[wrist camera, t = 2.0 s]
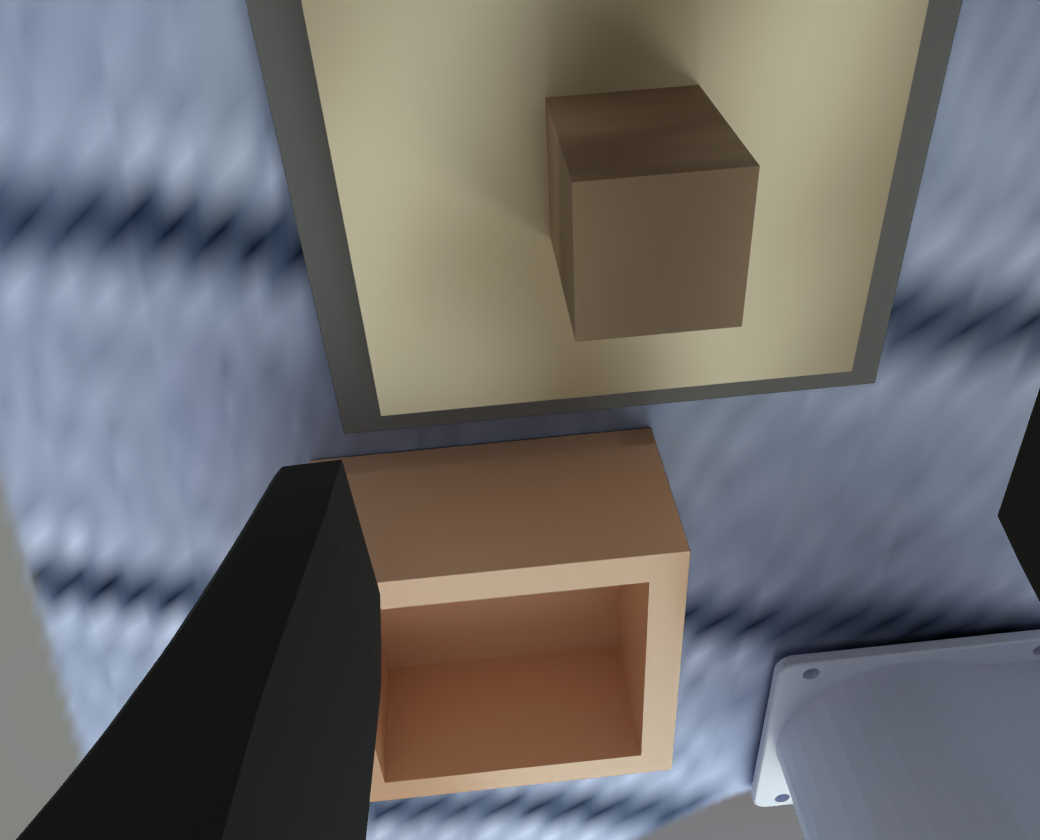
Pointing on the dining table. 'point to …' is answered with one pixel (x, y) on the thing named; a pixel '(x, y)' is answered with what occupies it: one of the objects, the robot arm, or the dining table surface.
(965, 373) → the dining table surface
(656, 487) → the tan square open box
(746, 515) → the dining table surface
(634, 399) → the mat
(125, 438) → the dining table surface
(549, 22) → the lid
